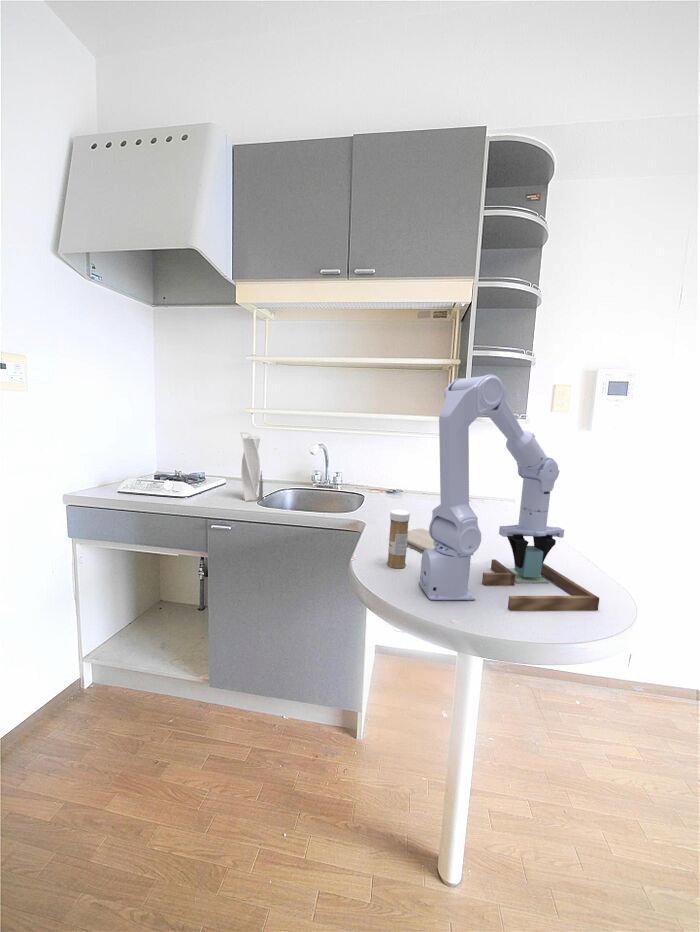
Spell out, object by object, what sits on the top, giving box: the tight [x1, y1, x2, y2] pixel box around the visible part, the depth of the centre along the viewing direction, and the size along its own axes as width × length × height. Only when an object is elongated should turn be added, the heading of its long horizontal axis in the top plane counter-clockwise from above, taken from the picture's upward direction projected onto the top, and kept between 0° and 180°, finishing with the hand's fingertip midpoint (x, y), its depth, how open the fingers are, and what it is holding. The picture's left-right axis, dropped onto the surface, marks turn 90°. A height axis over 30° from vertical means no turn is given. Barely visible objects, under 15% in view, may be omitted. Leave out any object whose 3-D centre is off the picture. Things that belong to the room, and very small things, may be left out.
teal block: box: [514, 545, 543, 577], centre depth 86 cm, size 4×4×6 cm
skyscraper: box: [240, 431, 265, 503], centre depth 154 cm, size 8×8×28 cm
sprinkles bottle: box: [386, 509, 410, 569], centre depth 90 cm, size 5×5×13 cm
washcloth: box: [407, 528, 435, 554], centre depth 108 cm, size 12×18×3 cm, turn 33°
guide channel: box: [481, 559, 600, 612], centre depth 82 cm, size 18×20×2 cm
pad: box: [506, 567, 550, 584], centre depth 88 cm, size 8×8×1 cm
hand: (527, 566), depth 87 cm, fingers closed on teal block, 4 cm apart
